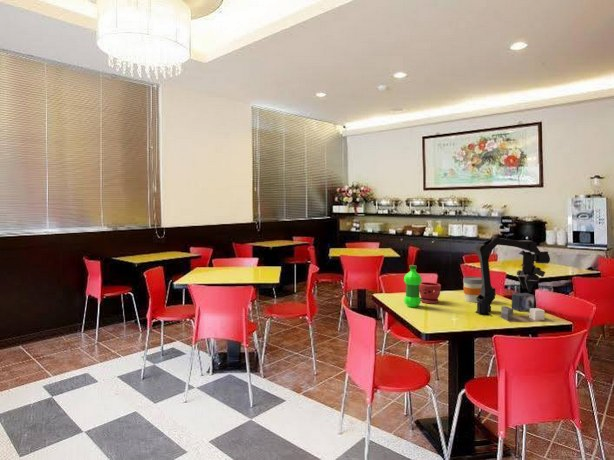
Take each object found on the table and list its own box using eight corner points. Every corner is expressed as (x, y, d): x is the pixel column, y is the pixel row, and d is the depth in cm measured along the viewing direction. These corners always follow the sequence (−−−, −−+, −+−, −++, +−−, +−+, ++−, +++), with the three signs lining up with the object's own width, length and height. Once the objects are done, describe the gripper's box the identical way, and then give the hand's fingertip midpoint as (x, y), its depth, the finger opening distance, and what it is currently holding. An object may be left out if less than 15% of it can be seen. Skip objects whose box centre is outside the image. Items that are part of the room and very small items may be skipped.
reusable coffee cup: (479, 299, 268) (480, 276, 268) (486, 303, 256) (486, 280, 255) (460, 298, 270) (460, 276, 269) (465, 303, 257) (466, 279, 256)
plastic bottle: (401, 307, 245) (402, 266, 244) (406, 303, 255) (407, 264, 253) (418, 309, 241) (419, 267, 239) (422, 305, 250) (423, 265, 249)
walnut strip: (510, 324, 210) (511, 310, 209) (498, 317, 222) (498, 305, 221) (555, 323, 211) (555, 310, 211) (540, 317, 223) (540, 304, 223)
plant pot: (436, 305, 251) (436, 286, 250) (415, 302, 259) (416, 283, 258) (443, 301, 261) (443, 283, 260) (423, 298, 269) (423, 280, 268)
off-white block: (535, 320, 214) (535, 310, 214) (529, 317, 219) (529, 308, 219) (544, 319, 214) (544, 310, 214) (538, 317, 219) (538, 308, 219)
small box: (519, 314, 231) (519, 295, 231) (510, 311, 238) (511, 293, 237) (534, 312, 234) (535, 294, 234) (525, 310, 241) (526, 292, 240)
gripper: (550, 266, 217) (548, 294, 218) (538, 261, 236) (536, 288, 236) (527, 264, 220) (526, 293, 220) (517, 260, 238) (515, 287, 239)
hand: (526, 290), depth 229 cm, fingers open, 9 cm apart
